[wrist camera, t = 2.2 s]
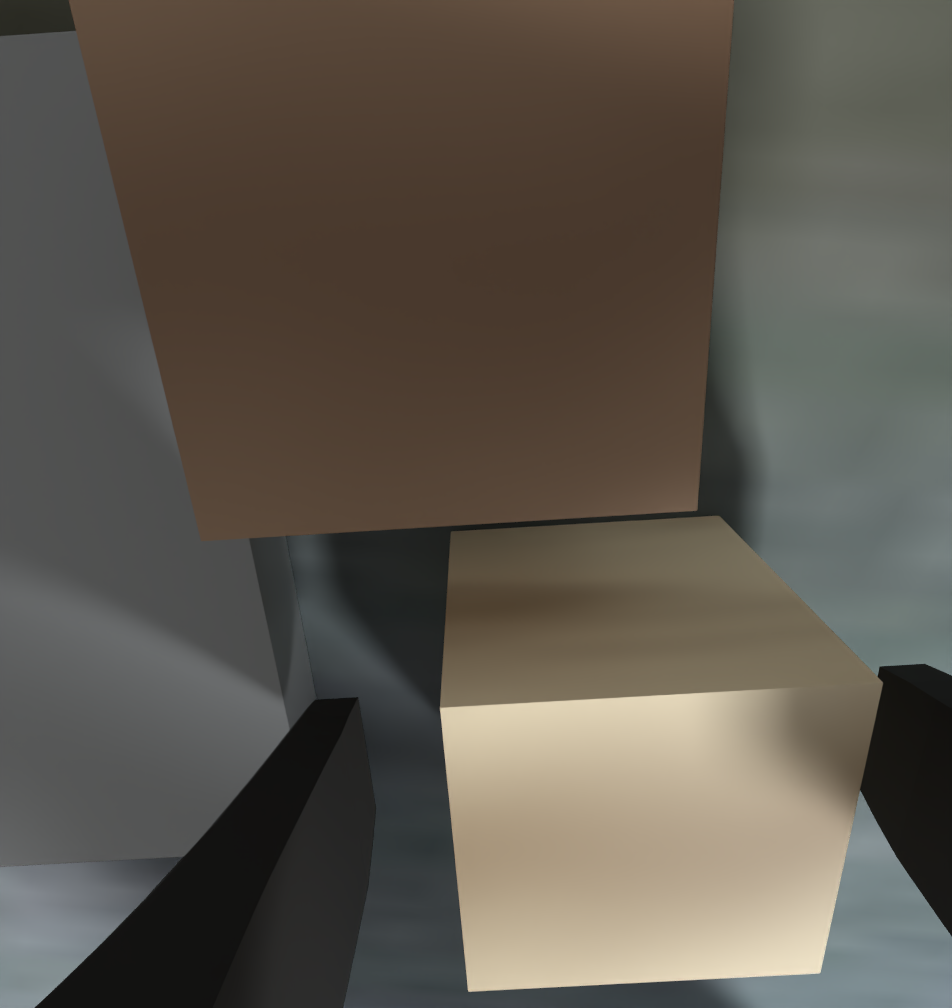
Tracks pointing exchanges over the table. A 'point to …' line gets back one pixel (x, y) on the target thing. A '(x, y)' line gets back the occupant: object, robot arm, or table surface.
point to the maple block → (643, 756)
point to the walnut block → (420, 250)
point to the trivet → (110, 528)
